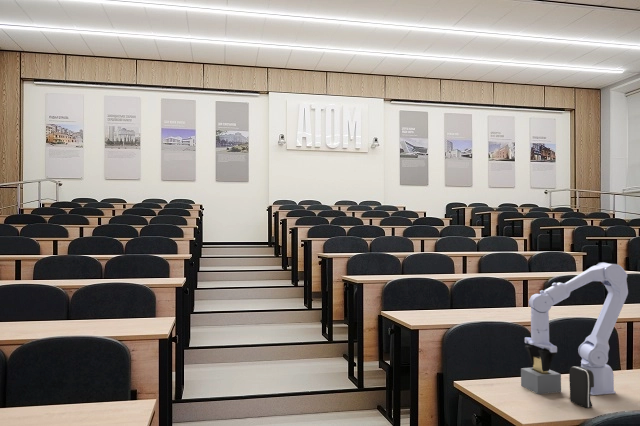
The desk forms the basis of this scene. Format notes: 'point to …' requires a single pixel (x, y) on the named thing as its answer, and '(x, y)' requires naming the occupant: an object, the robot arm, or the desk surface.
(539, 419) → the desk surface
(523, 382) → the coin box
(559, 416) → the desk surface
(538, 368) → the beige flat block
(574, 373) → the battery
